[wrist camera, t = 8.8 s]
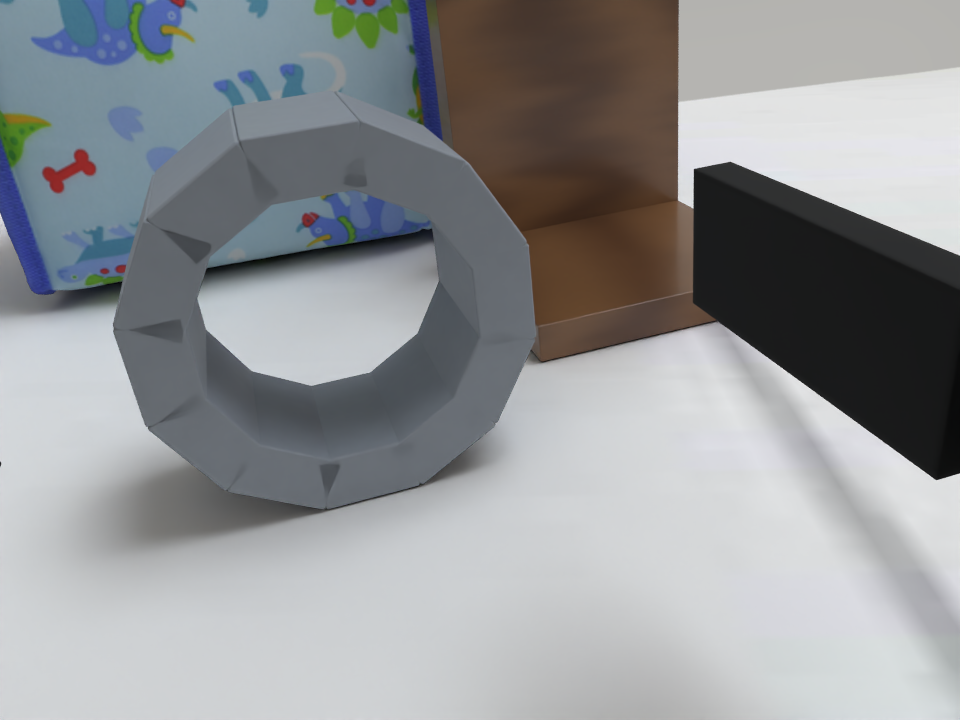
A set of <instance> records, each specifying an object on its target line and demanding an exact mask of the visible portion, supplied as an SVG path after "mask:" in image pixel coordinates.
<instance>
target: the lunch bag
mask: <svg viewBox="0 0 960 720" xmlns="http://www.w3.org/2000/svg"><path fill="white" fill-rule="evenodd" d="M330 90H331V91H333V92H335V91H338V92H341V93H343V94H346V95H348V96H351V97H353V98H356V99H358V100H361V101H363V102H366V103H368V104H371V105H373V106H376V107H378V108H381V109H383V110H386V111H388V112H391V113H393V114H396V115H398V116H401V117H403V118H406V119H408V120H411V121H414V122H416V123H419V124H421V125H423V126H424V127H426V128H427V129H428V130H429V131H431V132H432V133H433V134H434V135H435V136H437V137H438V138H439V139H440V140H441V141H443V137H442V129H441V121H440V113H439V105H438V97H437V89H436V81H435V73H434V65H433V57H432V49H431V41H430V33H429V25H428V17H427V9H426V1H425V0H0V213H1V216H2V219H3V221H4V224H5V227H6V229H7V232H8V235H9V237H10V239H11V241H12V243H13V246H14V248H15V250H16V252H17V254H18V257H19V260H20V262H21V265H22V267H23V269H24V272H25V275H26V278H27V282H28V284H29V286H30V289H31V290H32V291H33V292H34V293H36V294H41V295H47V294H53V293H54V292H56V291H57V290H76V289H84V288H91V287H96V286H101V285H105V284H110V283H115V282H122V281H123V278H124V273H125V269H126V265H127V261H128V258H129V254H130V251H131V247H132V244H133V240H134V237H135V233H136V230H137V226H138V223H139V219H140V216H141V212H142V209H143V206H144V202H145V199H146V195H147V192H148V188H149V185H150V181H151V178H152V175H154V174H155V172H156V170H157V169H158V168H160V167H161V166H162V165H163V164H164V163H165V162H167V161H168V160H169V159H170V158H171V157H172V156H174V155H175V154H176V153H177V152H178V151H180V150H181V149H182V148H183V147H184V146H185V145H187V144H188V143H189V142H190V141H191V140H192V139H194V138H195V137H196V136H197V135H198V134H199V133H201V132H202V131H203V130H204V129H205V128H206V127H208V126H209V125H210V124H211V123H212V122H213V121H215V120H216V119H217V118H218V117H219V116H220V115H222V114H223V113H224V112H225V111H226V110H227V109H230V108H231V109H232V108H233V106H235V105H242V104H248V103H254V102H260V101H267V100H273V99H279V98H286V97H292V96H298V95H304V94H311V93H317V92H323V91H330ZM422 229H432V223H431V221H430V220H429V218H428V217H427V216H426V215H424V214H421V213H418V212H415V211H412V210H409V209H407V208H404V207H401V206H398V205H395V204H392V203H389V202H387V201H384V200H381V199H378V198H375V197H372V196H369V195H367V194H364V193H361V192H358V191H355V190H350V191H345V192H340V193H334V194H329V195H323V196H318V197H312V198H307V199H302V200H296V201H291V202H285V203H280V204H274V205H271V206H270V207H269V208H268V209H266V210H265V211H264V212H263V213H262V214H261V215H259V216H258V217H257V218H256V219H255V220H253V221H252V222H251V223H250V224H249V225H248V226H246V227H245V228H244V229H243V230H242V231H240V232H239V233H238V234H237V235H236V236H234V237H233V238H232V239H231V240H230V241H229V242H227V243H226V244H225V245H224V246H223V247H221V248H220V249H219V250H218V251H217V252H216V253H214V254H213V255H212V256H211V257H210V259H209V262H208V266H207V268H211V267H216V266H221V265H227V264H232V263H241V262H246V261H250V260H256V259H263V258H268V257H273V256H278V255H284V254H289V253H295V252H301V251H306V250H312V249H318V248H325V247H331V246H337V245H343V244H350V243H356V242H362V241H368V240H374V239H380V238H386V237H392V236H398V235H404V234H409V233H414V232H418V231H420V230H422Z"/></svg>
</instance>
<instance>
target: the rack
mask: <svg viewBox="0 0 960 720" xmlns="http://www.w3.org/2000/svg"><path fill="white" fill-rule="evenodd" d="M425 1H426V9H427V17H428V25H429V33H430V41H431V49H432V57H433V65H434V73H435V81H436V89H437V97H438V105H439V113H440V121H441V129H442V137H443V142H444V143H445V144H446V145H447V146H449V147H450V148H451V149H452V150H454V151H455V152H456V153H457V154H458V155H460V156H461V157H462V158H463V159H464V160H466V161H467V162H468V163H469V164H470V165H471V167H472V168H473V169H474V171H475V172H476V173H477V175H478V176H479V177H480V179H481V180H482V181H483V183H484V184H485V185H486V187H487V188H488V189H489V191H490V192H491V193H492V195H493V196H494V197H495V199H496V200H497V201H498V203H499V204H500V205H501V207H502V208H503V209H504V211H505V212H506V213H507V215H508V216H509V217H510V219H511V220H512V221H513V223H514V224H515V225H516V227H517V228H518V229H519V231H520V232H521V233H522V235H523V236H524V237H525V239H526V243H527V244H528V245H529V255H530V267H531V279H532V292H533V304H534V316H535V328H536V337H535V338H534V339H535V342H534V344H533V346H532V348H531V350H532V351H533V352H534V353H535V355H536V356H537V357H538V358H539V360H540V361H547V360H551V359H555V358H559V357H564V356H568V355H572V354H576V353H580V352H585V351H589V350H593V349H597V348H602V347H606V346H610V345H614V344H618V343H623V342H627V341H631V340H635V339H640V338H644V337H648V336H652V335H656V334H661V333H665V332H669V331H673V330H678V329H682V328H686V327H690V326H694V325H699V324H703V323H707V322H711V321H716V319H714V318H713V317H711V316H710V315H709V314H707V313H706V312H705V311H703V310H702V309H700V308H699V307H698V306H696V305H695V304H694V303H693V215H694V209H693V208H691V207H689V206H687V205H685V204H683V203H682V202H680V201H678V14H679V9H678V8H679V5H678V4H679V0H425Z"/></svg>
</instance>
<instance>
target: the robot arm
mask: <svg viewBox="0 0 960 720" xmlns="http://www.w3.org/2000/svg"><path fill="white" fill-rule="evenodd" d="M693 303H694V304H695V305H696V306H698V307H699V308H700V309H702V310H703V311H705V312H706V313H707V314H709V315H710V316H711V317H713V318H714V319H716V320H717V321H718V322H720V323H721V324H722V325H724V326H725V327H727V328H728V329H729V330H731V331H732V332H733V333H735V334H736V335H738V336H739V337H740V338H742V339H743V340H744V341H746V342H747V343H749V344H750V345H751V346H753V347H754V348H755V349H757V350H758V351H760V352H761V353H762V354H764V355H765V356H766V357H768V358H769V359H771V360H772V361H773V362H775V363H776V364H777V365H779V366H780V367H782V368H783V369H784V370H786V371H787V372H788V373H790V374H791V375H793V376H794V377H795V378H797V379H798V380H799V381H801V382H802V383H804V384H805V385H806V386H808V387H809V388H810V389H812V390H813V391H815V392H816V393H817V394H819V395H820V396H821V397H823V398H824V399H825V400H827V401H828V402H830V403H831V404H832V405H834V406H835V407H836V408H838V409H839V410H841V411H842V412H843V413H845V414H846V415H847V416H849V417H850V418H852V419H853V420H854V421H856V422H857V423H858V424H860V425H861V426H863V427H864V428H865V429H867V430H868V431H869V432H871V433H872V434H874V435H875V436H876V437H878V438H879V439H880V440H882V441H883V442H885V443H886V444H887V445H889V446H890V447H891V448H893V449H894V450H896V451H897V452H898V453H900V454H901V455H902V456H904V457H905V458H907V459H908V460H909V461H911V462H912V463H913V464H915V465H916V466H918V467H919V468H920V469H922V470H923V471H924V472H926V473H927V474H929V475H930V476H931V477H933V478H934V479H935V480H939V479H942V478H946V477H949V476H952V475H956V474H959V473H960V256H959V255H956V254H954V253H952V252H949V251H947V250H944V249H942V248H939V247H937V246H934V245H932V244H930V243H927V242H925V241H922V240H920V239H917V238H915V237H912V236H910V235H908V234H905V233H903V232H900V231H898V230H895V229H893V228H891V227H888V226H886V225H883V224H881V223H878V222H876V221H873V220H871V219H869V218H866V217H864V216H861V215H859V214H856V213H854V212H851V211H849V210H847V209H844V208H842V207H839V206H837V205H834V204H832V203H830V202H827V201H825V200H822V199H820V198H817V197H815V196H812V195H810V194H808V193H805V192H803V191H800V190H798V189H795V188H793V187H790V186H788V185H786V184H783V183H781V182H778V181H776V180H773V179H771V178H768V177H766V176H764V175H761V174H759V173H756V172H754V171H751V170H749V169H747V168H744V167H742V166H739V165H737V164H734V163H732V162H727V163H722V164H717V165H712V166H707V167H702V168H697V169H694V215H693ZM0 466H1V462H0Z"/></svg>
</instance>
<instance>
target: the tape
mask: <svg viewBox="0 0 960 720" xmlns="http://www.w3.org/2000/svg"><path fill="white" fill-rule="evenodd" d="M350 190H355V191H358V192H361V193H364V194H367V195H369V196H372V197H375V198H378V199H381V200H384V201H387V202H389V203H392V204H395V205H398V206H401V207H404V208H407V209H409V210H412V211H415V212H418V213H421V214H424V215H426V216H427V217H428V218H429V220H430V221H431V223H432V230H433V238H434V245H435V252H436V260H437V267H438V274H439V283H438V285H437V288H436V290H435V293H434V295H433V298H432V300H431V302H430V305H429V307H428V310H427V312H426V315H425V317H424V319H423V322H422V324H421V327H420V329H419V331H418V334H417V335H415V336H414V337H413V338H412V339H411V340H409V341H408V342H407V343H406V344H404V345H403V346H402V347H401V348H400V349H398V350H397V351H396V352H395V353H394V354H392V355H391V356H390V357H389V358H387V359H386V360H385V361H384V362H383V363H381V364H380V365H379V366H378V367H376V368H375V369H374V370H373V371H372V372H370V373H366V374H362V375H358V376H353V377H349V378H345V379H340V380H336V381H331V382H327V383H323V384H318V385H314V386H309V385H305V384H301V383H297V382H293V381H289V380H285V379H281V378H277V377H272V376H268V375H264V374H260V373H256V372H252V371H251V370H249V369H248V368H247V367H246V366H245V365H244V364H243V363H242V362H241V361H240V360H239V359H237V358H236V357H235V356H234V355H233V354H232V353H231V352H230V351H229V350H228V349H227V348H225V347H224V346H223V345H222V344H221V343H220V342H219V341H218V340H217V339H216V338H215V337H213V336H212V335H211V334H210V333H209V332H208V331H207V330H206V328H205V325H204V321H203V318H202V314H201V311H200V307H199V304H198V300H197V297H198V294H199V291H200V287H201V284H202V281H203V278H204V275H205V272H206V269H207V266H208V262H209V259H210V257H211V256H212V255H213V254H214V253H216V252H217V251H218V250H219V249H220V248H221V247H223V246H224V245H225V244H226V243H227V242H229V241H230V240H231V239H232V238H233V237H234V236H236V235H237V234H238V233H239V232H240V231H242V230H243V229H244V228H245V227H246V226H248V225H249V224H250V223H251V222H252V221H253V220H255V219H256V218H257V217H258V216H259V215H261V214H262V213H263V212H264V211H265V210H266V209H268V208H269V207H270V206H271V205H274V204H280V203H285V202H291V201H296V200H302V199H307V198H312V197H318V196H323V195H329V194H334V193H340V192H345V191H350ZM113 328H114V330H113V332H114V335H115V338H116V341H117V344H118V347H119V350H120V353H121V356H122V359H123V362H124V365H125V368H126V371H127V373H128V376H129V379H130V382H131V385H132V388H133V391H134V394H135V397H136V400H137V403H138V406H139V409H140V412H141V415H142V417H143V420H144V423H145V425H146V427H148V430H149V431H150V432H152V433H153V434H154V435H156V436H157V437H158V438H159V439H161V440H162V441H163V442H164V443H166V444H167V445H168V446H169V447H171V448H172V449H173V450H174V451H176V452H177V453H178V454H179V455H181V456H182V457H183V458H184V459H186V460H187V461H188V462H189V463H191V464H192V465H193V466H194V467H196V468H197V469H198V470H199V471H201V472H202V473H203V474H204V475H206V476H207V477H208V478H210V479H211V480H212V481H213V482H215V483H216V484H217V485H218V486H220V487H221V488H222V489H223V490H225V491H226V490H227V489H228V492H230V493H235V494H241V495H246V496H252V497H257V498H263V499H268V500H274V501H279V502H284V503H290V504H295V505H301V506H306V507H312V508H317V509H325V507H326V508H327V509H331V508H335V507H339V506H343V505H346V504H350V503H354V502H358V501H362V500H366V499H369V498H373V497H377V496H381V495H385V494H389V493H392V492H396V491H400V490H404V489H408V488H412V487H416V486H419V485H420V483H421V484H424V483H425V482H426V481H428V480H429V479H430V478H431V477H433V476H434V475H435V474H436V473H437V472H439V471H440V470H441V469H442V468H444V467H445V466H446V465H447V464H449V463H450V462H451V461H452V460H454V459H455V458H456V457H457V456H458V455H460V454H461V453H462V452H463V451H465V450H466V449H467V448H468V447H470V446H471V445H472V444H473V443H475V442H476V441H477V440H478V439H479V438H481V437H482V436H483V435H484V434H486V433H487V432H488V431H489V430H491V429H492V428H493V427H494V426H495V423H496V422H498V420H499V418H500V415H501V413H502V411H503V409H504V407H505V405H506V402H507V400H508V398H509V396H510V394H511V392H512V389H513V387H514V385H515V383H516V381H517V379H518V376H519V374H520V372H521V370H522V368H523V366H524V363H525V361H526V359H527V357H528V355H529V353H530V350H531V348H532V346H533V344H534V342H535V339H534V338H535V337H536V328H535V316H534V304H533V292H532V279H531V267H530V255H529V245H528V244H527V243H526V239H525V237H524V236H523V235H522V233H521V232H520V231H519V229H518V228H517V227H516V225H515V224H514V223H513V221H512V220H511V219H510V217H509V216H508V215H507V213H506V212H505V211H504V209H503V208H502V207H501V205H500V204H499V203H498V201H497V200H496V199H495V197H494V196H493V195H492V193H491V192H490V191H489V189H488V188H487V187H486V185H485V184H484V183H483V181H482V180H481V179H480V177H479V176H478V175H477V173H476V172H475V171H474V169H473V168H472V167H471V165H470V164H469V163H468V162H467V161H466V160H464V159H463V158H462V157H461V156H460V155H458V154H457V153H456V152H455V151H454V150H452V149H451V148H450V147H449V146H447V145H446V144H445V143H444V142H443V141H441V140H440V139H439V138H438V137H437V136H435V135H434V134H433V133H432V132H431V131H429V130H428V129H427V128H426V127H424V126H423V125H421V124H419V123H416V122H414V121H411V120H408V119H406V118H403V117H401V116H398V115H396V114H393V113H391V112H388V111H386V110H383V109H381V108H378V107H376V106H373V105H371V104H368V103H366V102H363V101H361V100H358V99H356V98H353V97H351V96H348V95H346V94H343V93H341V92H338V91H335V92H333V91H331V90H330V91H323V92H317V93H311V94H304V95H298V96H292V97H286V98H279V99H273V100H267V101H260V102H254V103H248V104H242V105H235V106H233V108H232V109H231V108H230V109H227V110H226V111H225V112H224V113H223V114H222V115H220V116H219V117H218V118H217V119H216V120H215V121H213V122H212V123H211V124H210V125H209V126H208V127H206V128H205V129H204V130H203V131H202V132H201V133H199V134H198V135H197V136H196V137H195V138H194V139H192V140H191V141H190V142H189V143H188V144H187V145H185V146H184V147H183V148H182V149H181V150H180V151H178V152H177V153H176V154H175V155H174V156H172V157H171V158H170V159H169V160H168V161H167V162H165V163H164V164H163V165H162V166H161V167H160V168H158V169H157V170H156V172H155V174H154V175H152V178H151V181H150V185H149V188H148V192H147V195H146V199H145V202H144V206H143V209H142V212H141V216H140V219H139V223H138V226H137V230H136V233H135V237H134V240H133V244H132V247H131V251H130V254H129V258H128V261H127V265H126V269H125V273H124V278H123V282H122V287H121V291H120V296H119V300H118V305H117V309H116V314H115V318H114V323H113Z"/></svg>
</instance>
